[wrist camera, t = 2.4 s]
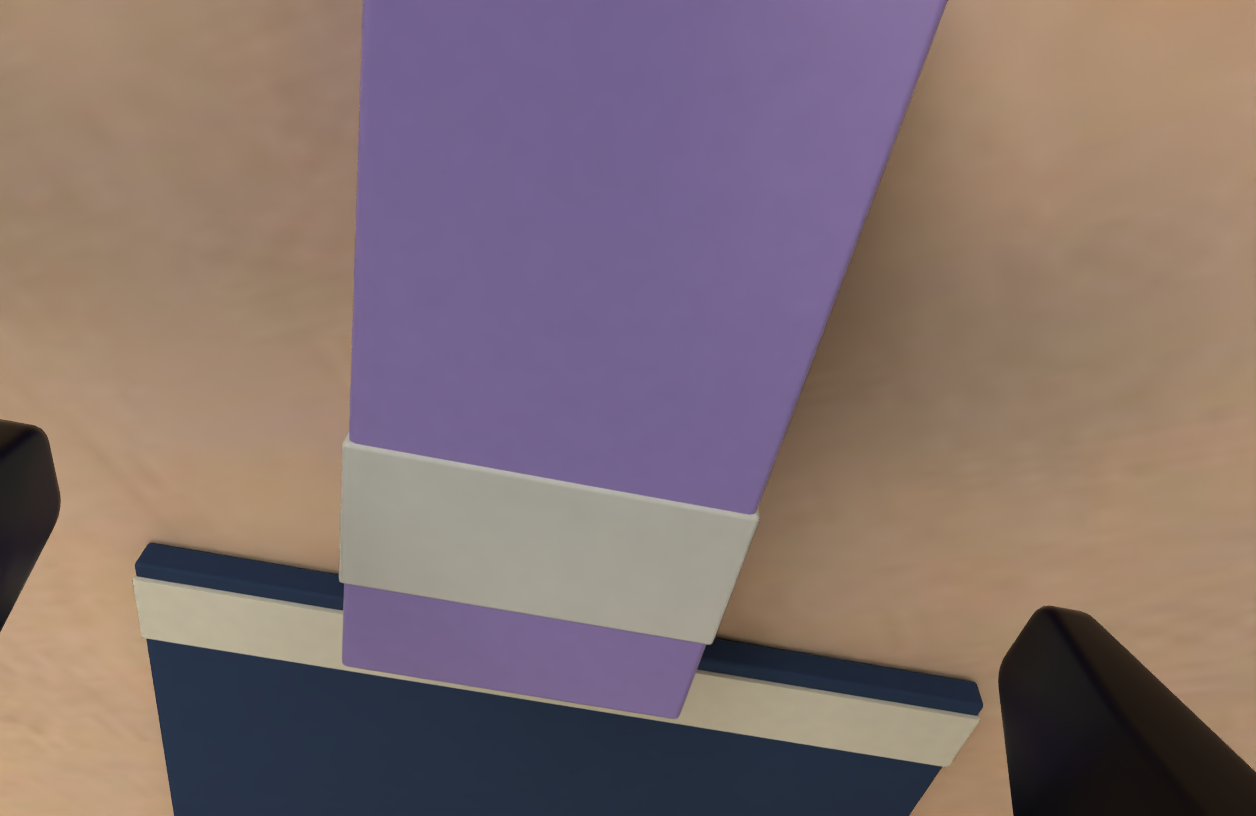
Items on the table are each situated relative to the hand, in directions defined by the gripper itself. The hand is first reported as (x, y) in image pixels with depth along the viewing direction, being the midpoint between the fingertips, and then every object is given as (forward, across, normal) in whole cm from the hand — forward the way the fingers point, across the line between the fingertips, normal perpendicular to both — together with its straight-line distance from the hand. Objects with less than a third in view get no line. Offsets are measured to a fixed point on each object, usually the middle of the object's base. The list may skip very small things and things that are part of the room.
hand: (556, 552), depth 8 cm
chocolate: (+6, 0, 0) cm, 6 cm away
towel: (+6, -1, +16) cm, 18 cm away
